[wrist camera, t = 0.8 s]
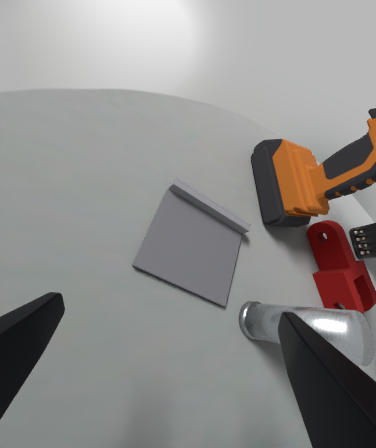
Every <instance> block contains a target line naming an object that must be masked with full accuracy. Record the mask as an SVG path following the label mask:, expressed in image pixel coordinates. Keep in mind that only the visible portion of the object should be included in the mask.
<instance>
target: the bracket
mask: <svg viewBox="0 0 376 448" xmlns="http://www.w3.org/2000/svg"><path fill="white" fill-rule="evenodd" d="M250 226H251V225H250V224H249V223H247V222H245V221H244V220H242V219H241V218H239V217H238V216H236V215H235V214H233V213H231V212H230V211H228V210H227V209H225V208H224V207H222V206H220V205H219V204H217V203H216V202H214V201H213V200H211V199H209V198H208V197H206V196H205V195H203V194H202V193H200V192H199V191H197V190H195V189H194V188H192V187H191V186H189V185H188V184H186V183H184V182H183V181H181V180H180V179H178V178H177V177H176V178H175V179H174V180H173V181H172V182H171V183H170V184H169V186H168V189H167V191H166V193H165V195H164V197H163V199H162V202H161V204H160V206H159V208H158V210H157V213H156V215H155V217H154V219H153V221H152V223H151V226H150V228H149V230H148V232H147V234H146V237H145V239H144V241H143V243H142V245H141V247H140V250H139V252H138V254H137V256H136V258H135V260H134V263H133V265H132V266H134V267H136V268H138V269H140V270H142V271H145V272H147V273H149V274H151V275H154V276H156V277H158V278H160V279H163V280H165V281H167V282H169V283H171V284H174V285H176V286H178V287H180V288H183V289H185V290H187V291H189V292H192V293H194V294H196V295H198V296H201V297H203V298H205V299H207V300H209V301H212V302H214V303H216V304H218V305H221V306H226V302H227V297H228V293H229V289H230V284H231V280H232V276H233V271H234V267H235V263H236V258H237V254H238V250H239V246H240V241H241V237H242V234H243V233H246V232H249V231H250Z"/></svg>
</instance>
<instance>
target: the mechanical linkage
mask: <svg viewBox="0 0 376 448" xmlns="http://www.w3.org/2000/svg"><path fill="white" fill-rule="evenodd" d="M323 233H325V234H326V235H327V239H326V238H324V236H323ZM307 237H308V240H309V242H310V245H311V248H312V251H313V253H314V256H315V259H316V262H317V264H318V267H319V270H320V271H318V272H316V273H314V274H312V275H313V277H314V280H315V283H316V286H317V289H318V291H319V294H320V297H321V300H322V303H323V305H324V308H327V309H342V308H341V307H340V306H339V304H338V303H340V304H342V305H343V306H344V307H345V309H346V310H356V311H359V312H360V313H362V314H363V313H364V312H365V311H368V310H370V309H371V308H372V307H373V306H374V305H375V304H376V291H375V288H374V286H373V283H372V281H371V278H370V276H369V273H368V271H367V268H366V266H365V263H364V261H363V260H362V261H356V260H355V257H354V255H353V252H352V250H351V247H350V245H349V242H348V239H347V237H346V234H345V232H344V230H343V228H342V227H341V226H340V225H339V224H338V223H336V222H334V221H330V220H325V221H321V222H318V223H315V224H313V225H311V226H310V227H309V228H308V230H307ZM359 295H360V297H361V298H360V297H359ZM342 310H344V309H342Z"/></svg>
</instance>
